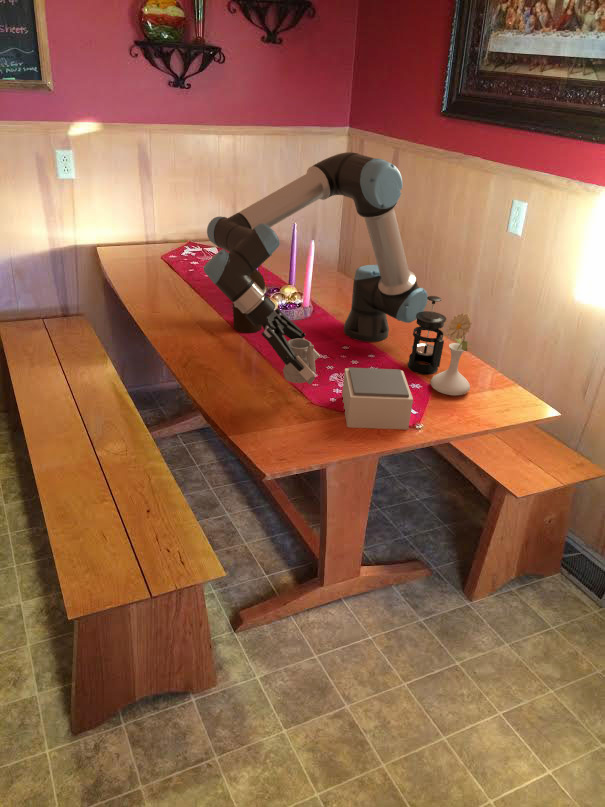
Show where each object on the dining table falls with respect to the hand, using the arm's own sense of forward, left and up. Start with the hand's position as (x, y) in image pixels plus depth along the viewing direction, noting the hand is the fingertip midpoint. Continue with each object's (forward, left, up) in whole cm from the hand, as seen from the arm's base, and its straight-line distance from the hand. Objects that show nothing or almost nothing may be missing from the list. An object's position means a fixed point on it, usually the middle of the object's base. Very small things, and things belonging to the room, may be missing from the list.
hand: (313, 367), depth 173 cm
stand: (0, +17, -13) cm, 21 cm away
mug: (0, -3, -4) cm, 5 cm away
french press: (-28, +36, -13) cm, 47 cm away
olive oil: (-53, -19, -13) cm, 57 cm away
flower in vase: (-14, +41, -13) cm, 45 cm away
